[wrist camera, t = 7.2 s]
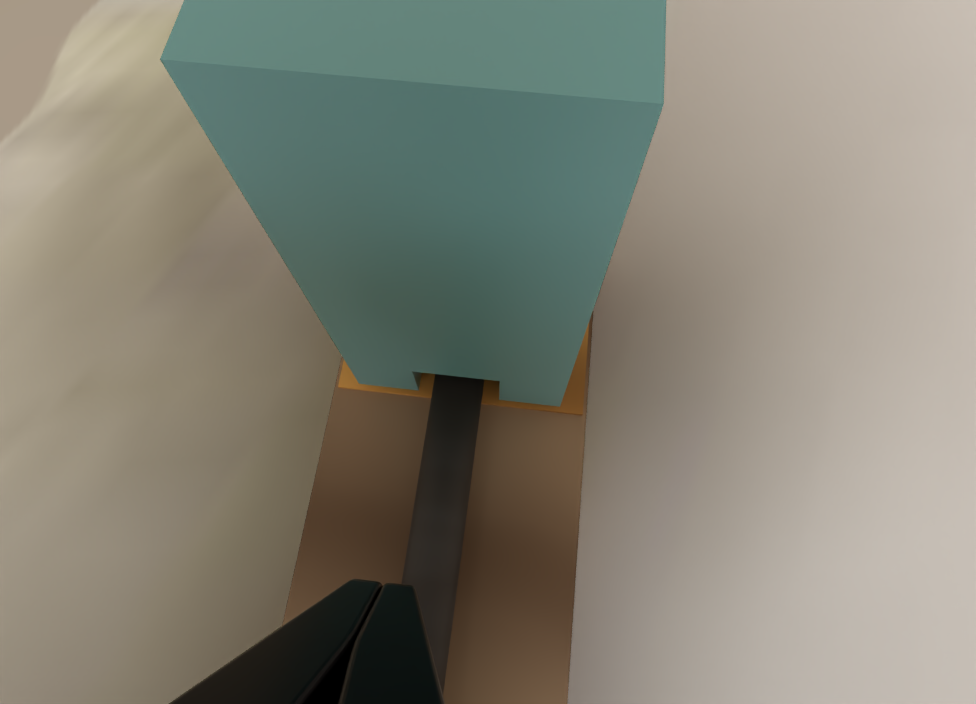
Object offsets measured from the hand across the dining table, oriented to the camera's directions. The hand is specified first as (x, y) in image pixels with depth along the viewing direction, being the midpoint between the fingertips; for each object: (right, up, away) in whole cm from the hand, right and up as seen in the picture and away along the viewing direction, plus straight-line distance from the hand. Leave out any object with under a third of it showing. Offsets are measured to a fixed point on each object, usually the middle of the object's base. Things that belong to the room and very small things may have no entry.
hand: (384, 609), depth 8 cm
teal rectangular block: (+1, +4, +8) cm, 9 cm away
